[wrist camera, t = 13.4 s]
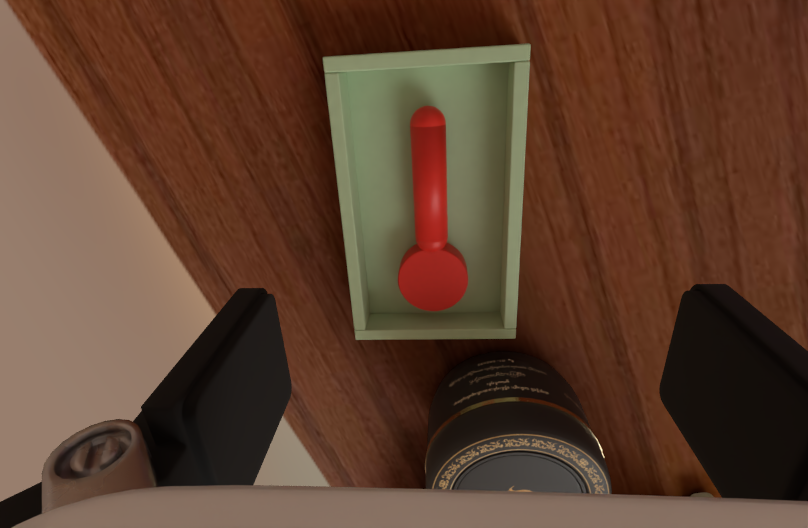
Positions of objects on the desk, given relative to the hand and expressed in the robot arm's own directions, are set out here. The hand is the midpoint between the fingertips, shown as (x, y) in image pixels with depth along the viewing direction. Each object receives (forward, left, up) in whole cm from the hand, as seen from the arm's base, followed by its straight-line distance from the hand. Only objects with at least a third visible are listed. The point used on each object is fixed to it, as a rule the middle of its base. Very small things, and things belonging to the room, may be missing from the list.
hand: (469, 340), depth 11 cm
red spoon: (+1, -1, -16) cm, 16 cm away
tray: (+1, -1, -16) cm, 16 cm away
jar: (+16, +3, -16) cm, 22 cm away
